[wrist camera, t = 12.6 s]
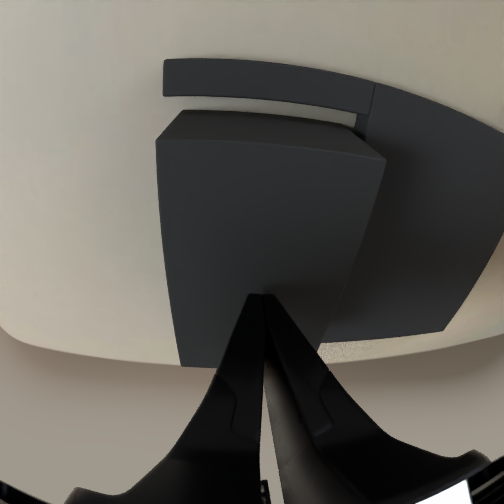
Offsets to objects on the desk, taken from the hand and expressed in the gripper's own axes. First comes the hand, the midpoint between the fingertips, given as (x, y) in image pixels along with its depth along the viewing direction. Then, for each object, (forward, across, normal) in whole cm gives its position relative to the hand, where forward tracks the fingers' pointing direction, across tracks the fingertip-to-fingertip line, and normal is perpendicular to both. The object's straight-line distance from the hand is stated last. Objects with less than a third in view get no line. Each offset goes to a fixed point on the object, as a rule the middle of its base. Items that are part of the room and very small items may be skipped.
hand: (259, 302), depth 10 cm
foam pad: (+4, 0, 0) cm, 4 cm away
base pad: (+4, -4, 0) cm, 6 cm away
